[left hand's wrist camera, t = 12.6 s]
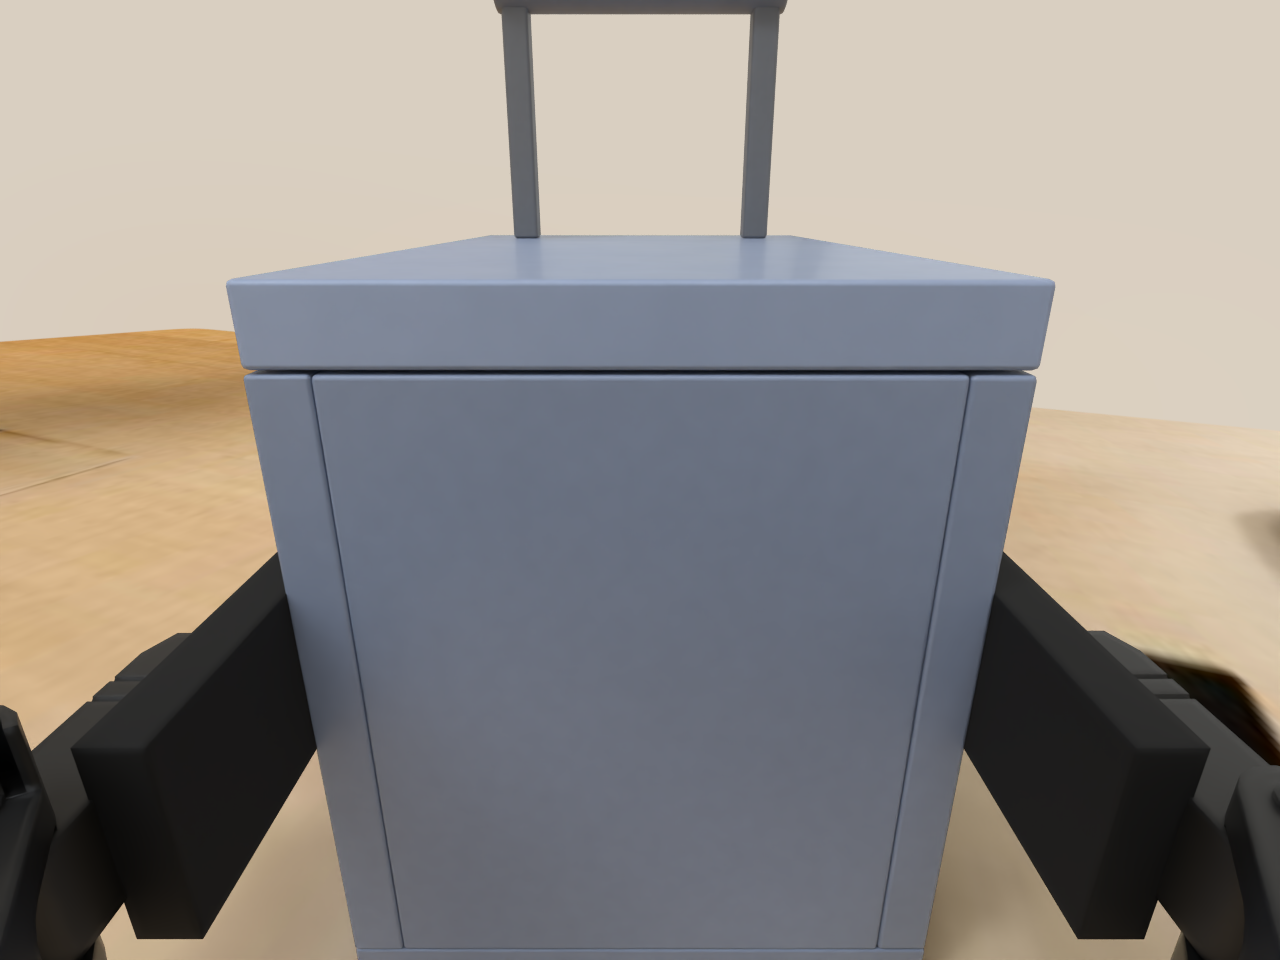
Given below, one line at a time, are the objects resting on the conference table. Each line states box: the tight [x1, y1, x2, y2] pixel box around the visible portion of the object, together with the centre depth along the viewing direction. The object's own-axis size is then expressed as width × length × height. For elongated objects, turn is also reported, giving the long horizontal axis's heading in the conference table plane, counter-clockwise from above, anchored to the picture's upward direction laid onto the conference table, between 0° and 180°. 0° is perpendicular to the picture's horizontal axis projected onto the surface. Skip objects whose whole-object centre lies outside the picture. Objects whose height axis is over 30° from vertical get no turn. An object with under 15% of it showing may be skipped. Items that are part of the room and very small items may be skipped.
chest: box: [244, 370, 1036, 960], centre depth 18 cm, size 15×10×11 cm, turn 0°
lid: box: [226, 0, 1055, 370], centre depth 15 cm, size 16×10×9 cm, turn 0°
